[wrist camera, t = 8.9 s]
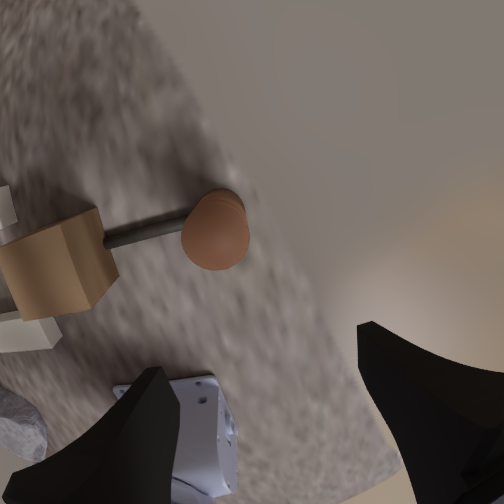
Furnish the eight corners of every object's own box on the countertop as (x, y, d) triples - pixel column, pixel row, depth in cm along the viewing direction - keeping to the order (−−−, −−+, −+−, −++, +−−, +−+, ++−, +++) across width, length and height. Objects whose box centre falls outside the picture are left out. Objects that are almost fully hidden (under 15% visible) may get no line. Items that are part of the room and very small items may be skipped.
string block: (235, 168, 18) (235, 173, 13) (253, 244, 20) (260, 282, 14) (34, 229, 18) (-15, 255, 13) (56, 290, 20) (16, 329, 14)
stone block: (49, 397, 26) (-20, 370, 22) (40, 429, 22) (-34, 398, 18) (56, 444, 30) (-3, 422, 26) (52, 471, 25) (-10, 447, 22)
